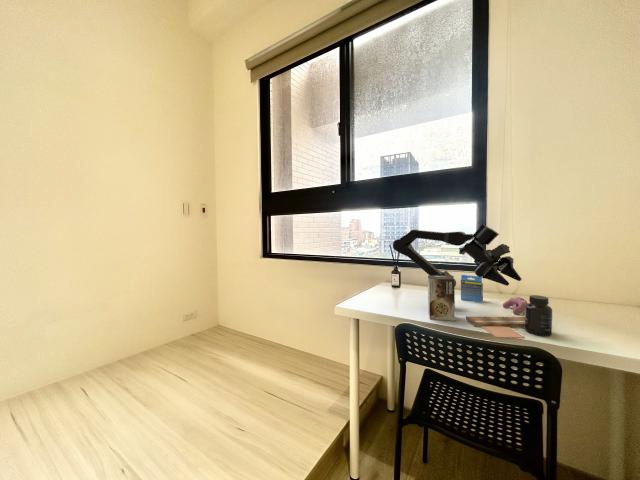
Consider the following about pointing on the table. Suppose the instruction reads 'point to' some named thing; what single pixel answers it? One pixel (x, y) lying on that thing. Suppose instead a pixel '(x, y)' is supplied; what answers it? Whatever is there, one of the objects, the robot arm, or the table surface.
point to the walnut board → (496, 321)
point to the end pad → (502, 332)
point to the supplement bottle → (538, 316)
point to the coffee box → (441, 298)
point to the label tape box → (471, 288)
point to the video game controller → (516, 304)
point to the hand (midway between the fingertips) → (514, 282)
